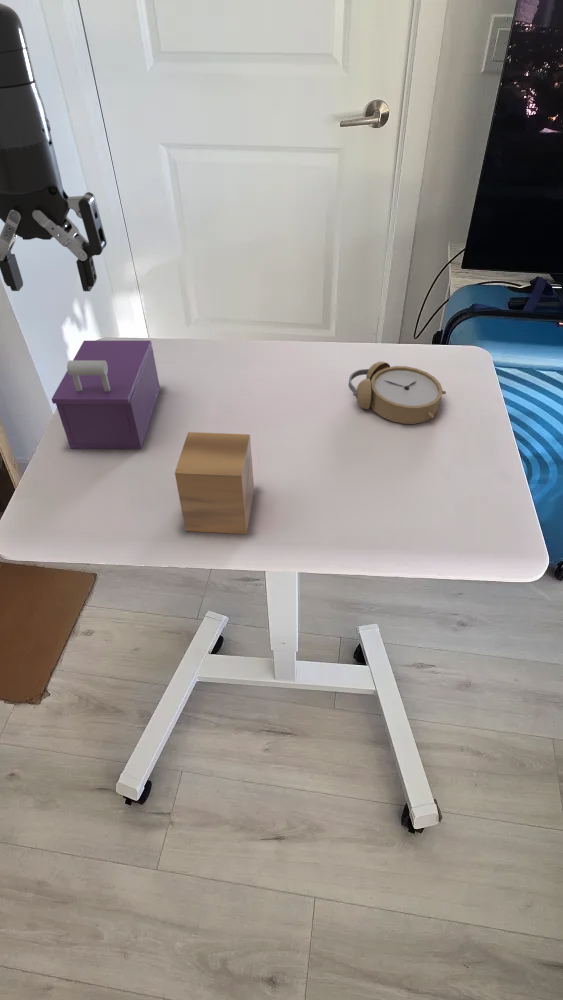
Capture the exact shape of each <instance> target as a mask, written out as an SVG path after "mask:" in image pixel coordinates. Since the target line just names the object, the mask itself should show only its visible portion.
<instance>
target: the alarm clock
mask: <svg viewBox="0 0 563 1000" xmlns="http://www.w3.org/2000/svg"><path fill="white" fill-rule="evenodd" d="M364 375H366V376H365V377H366V378H364V379H362V380H361V381H359V383H358V385H357V388H356V386H355V385H353V383H352V381H353V379H355V378H356V377H358V376H364ZM348 388H349V390H350V391H351V392H352V396H353V397H355V398H356V402H357V404H358V406H359V407H360V408H361V409H366V410H369V408H370V407H371V409H372V410H373V411H374V412H375V413H376V414H377V415H379V416H380V417H382V418H384V419H386V420H389V421H391V422H395V423H399V424H410V425H411V424H412V425H415V424H421V423H425V422H427V421H429V420H431V419H434V418H435V416H436V414H438V411H439V405H440V402H441V399H442V396H443V395H446V394H447V391H445V390H443V386H442V384H441V383H440V381H439V380H438V379H437V378H436V377H435V376H433V375H432V374H430V373H429V372H427V371H425V370H422V369H420V368H416V367H411V366H407V365H406V366H405V365H394V366H391V364H390V363H388V362H385V361H377V362H375V363H373V364H372V365H371V366H370V367H369V368H363V369H357V370H355V371H354V372H352V373H351V374H350V376H349V379H348Z"/></svg>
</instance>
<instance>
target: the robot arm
mask: <svg viewBox="0 0 563 1000" xmlns="http://www.w3.org/2000/svg"><path fill="white" fill-rule="evenodd" d="M51 130H52V129H51V125H50V120H49V118H48V116H47V112H46V109H45V104H44V101H43V99H42V96H41V93H40V90H39V88H38V85H37V80H36V77H35V72H34V67H33V63H32V60H31V55H30V51H29V47H28V43H27V38H26V34H25V29H24V26H23V23H22V21H21V18H20V16H19V15H18V13H17V12H16V11H15V10H14V9H13V8H12V7H11V6H8V5H6V4H3V3H0V220H1V222H3V223H4V225H3V228H2V230H1V232H0V273H1V276H2V279H3V282H4V284H5V285H6V286H7V287H10V290H11V292H20V290H21V289H22V288H23V286H24V281H23V277H22V274H21V270H20V266H19V264H18V261H17V257H16V254H15V253H12V251H13V249H14V246H15V244H16V242H17V239H18V238H22V240H23V241H31V240H34V239H39V240H43V241H48V240H49V241H50V240H52V239H53V238H54V239H55V240H56V241H57V242H58V243H59V244H60V245H61V246H62V247H64V248H67V249H68V250H69V251H70V252H71V253H72V254H73V255H74V256H75V257H76V258H77V260H75V262H76V267H77V271H78V275H79V279H80V284H81V289H82V291H83V292H91V291H92V289H93V288H94V286H95V285H96V283H97V279H98V276H97V275H98V274H97V271H96V266H95V262H94V258H93V257H94V256H100V255H102V253H103V250H104V249H106V246H107V243H108V241H107V238H106V234H105V231H104V226H103V223H102V219H101V215H100V211H99V208H98V203H97V198H96V196H95V194H94V193H92V192H90V191H89V192H86V193H84V194H83V195H76V196H75V195H74V196H69V194H67V192H66V191H65V189H64V185H63V182H62V177H61V172H60V167H59V163H58V159H57V155H56V150H55V146H54V142H53V138H52V133H51ZM70 210H73V212H75V215H76V216H77V217H78V218H79V219H82V223H83V226H84V230H85V234H86V237H84V236H83V235H82V234H81V233H80V230H79V228H78V227H77V226H76V224H75V223H73V222H72V220H71V219H70V218H68V214H69V212H70ZM86 238H87V239H86Z"/></svg>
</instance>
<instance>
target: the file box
mask: <svg viewBox="0 0 563 1000" xmlns="http://www.w3.org/2000/svg"><path fill="white" fill-rule="evenodd" d="M157 370H158V369H157V364H156V360H155V353H154V348H153V345H152V346H151V348H150V351H149V353H148V356H147V358H146V361H145V364H144V366H143V369H142V371H141V374H140V376H139V379H138V382H137V384H136V387H135V389H134V392H133V394H132V397H131V400H130V402H129V404H55V406H56V409H57V412H58V415H59V418H60V421H61V425H62V427H63V430H64V433H65V437H66V440H67V442H68V446H69V449H78V450H81V449H84V450H85V449H86V450H87V449H90V450H94V449H95V450H96V449H97V450H102V449H103V450H142V448H143V446H144V441H145V438H146V436H147V433H148V432H147V431H148V430H149V426H150V423H151V421H152V420H151V419H152V417H153V413H154V411H155V408H156V404H157V402H158V399H159V395H160V392H161V386H160V382H159V376H158V375H159V374H158V371H157Z"/></svg>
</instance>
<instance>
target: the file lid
mask: <svg viewBox="0 0 563 1000" xmlns="http://www.w3.org/2000/svg"><path fill="white" fill-rule="evenodd" d="M151 346H152V347H153V344H152V340H83V341H82V343H81V344H80V346H79V349H78V350H77V352H76V354H75V356H74V358H73V359H72V360H68V361H67V364H66V372H65V373H64V375H63V377H62V379H61V381H60V382H59V384H58V387H56V389H55V391H54V393H53V395H52V397H51V402H52V404H55V405H56V404H129V402H130V400H131V397H132V394H133V392H134V389H135V387H136V384H137V382H138V379H139V376H140V374H141V371H142V369H143V366H144V364H145V361H146V358H147V356H148V353H149V351H150V348H151Z"/></svg>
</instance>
